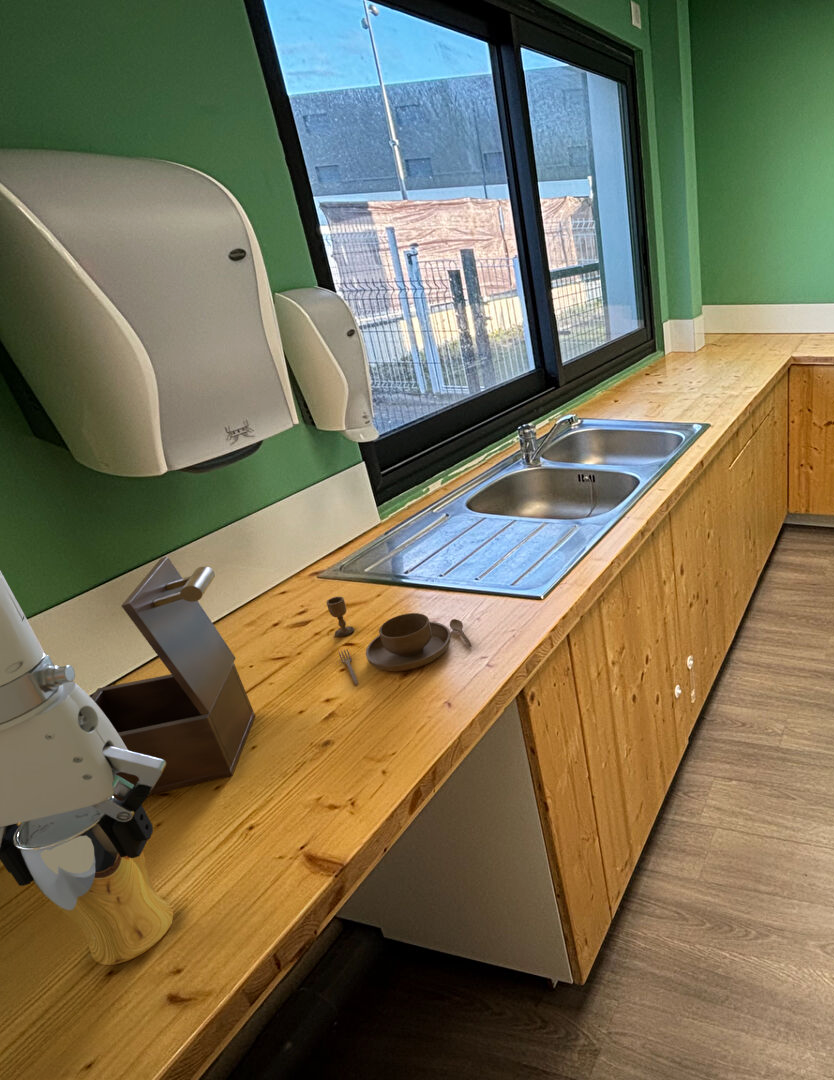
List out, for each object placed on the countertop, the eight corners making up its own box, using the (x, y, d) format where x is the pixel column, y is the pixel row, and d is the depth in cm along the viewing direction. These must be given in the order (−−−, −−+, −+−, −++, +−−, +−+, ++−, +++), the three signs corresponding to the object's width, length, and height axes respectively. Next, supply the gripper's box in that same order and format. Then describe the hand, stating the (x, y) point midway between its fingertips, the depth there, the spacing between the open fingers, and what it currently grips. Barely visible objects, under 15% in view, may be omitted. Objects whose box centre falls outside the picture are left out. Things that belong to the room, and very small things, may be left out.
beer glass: (86, 930, 66) (11, 814, 59) (175, 887, 70) (115, 773, 63) (86, 987, 61) (5, 866, 54) (183, 937, 65) (118, 819, 58)
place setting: (355, 694, 97) (344, 659, 94) (329, 632, 112) (319, 600, 109) (479, 649, 106) (472, 616, 103) (440, 597, 121) (433, 567, 118)
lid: (120, 605, 72) (179, 587, 73) (160, 558, 82) (211, 543, 83) (201, 715, 79) (254, 697, 80) (229, 660, 89) (275, 644, 90)
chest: (85, 810, 79) (51, 750, 75) (126, 743, 89) (97, 688, 85) (232, 775, 83) (206, 717, 80) (255, 716, 93) (233, 661, 90)
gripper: (143, 643, 59) (216, 800, 67) (-122, 691, 54) (-11, 854, 62) (106, 696, 52) (191, 862, 60) (-199, 756, 47) (-64, 928, 55)
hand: (88, 857), depth 61 cm, fingers closed on beer glass, 7 cm apart
